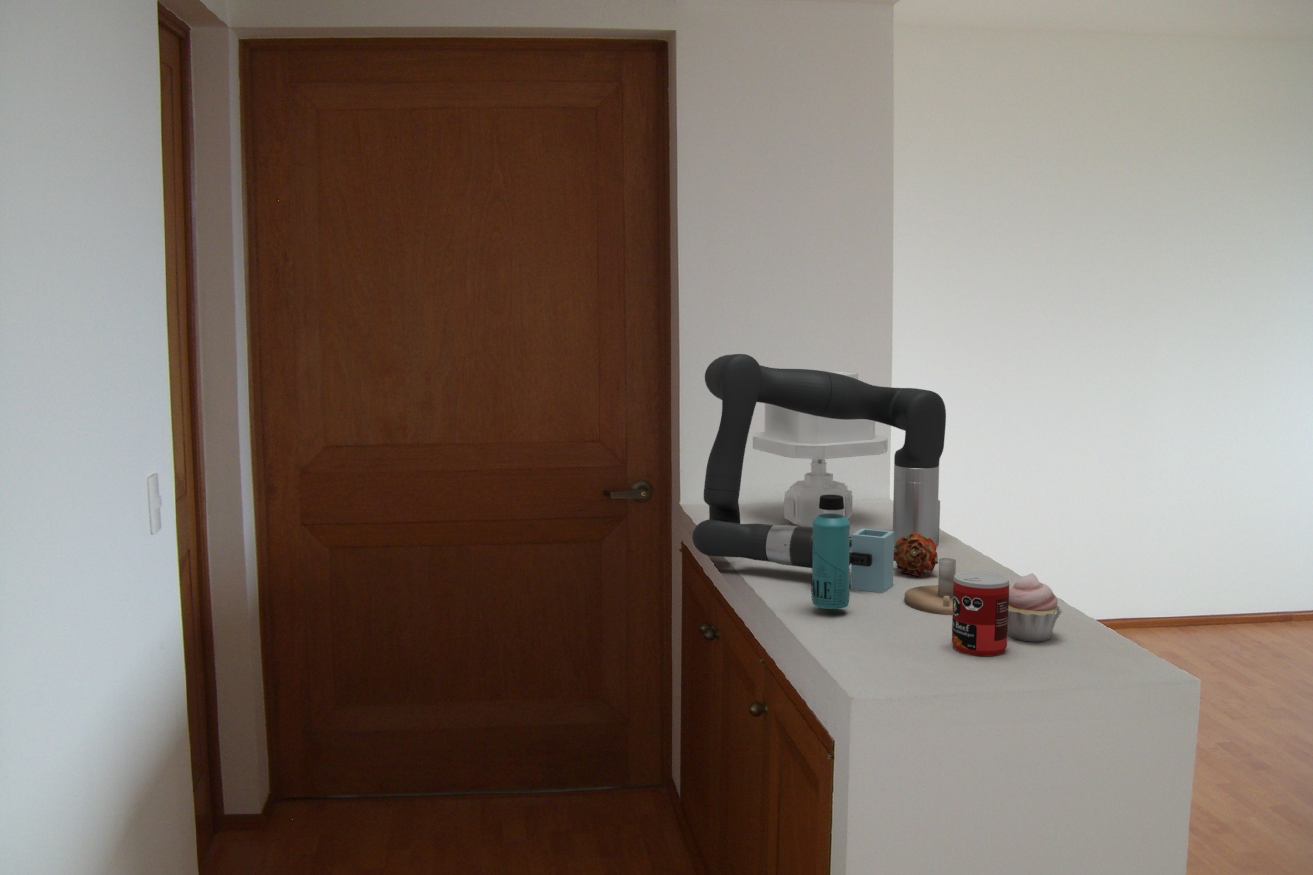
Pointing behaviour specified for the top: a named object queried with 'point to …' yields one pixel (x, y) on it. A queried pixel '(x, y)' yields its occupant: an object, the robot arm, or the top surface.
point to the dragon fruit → (915, 554)
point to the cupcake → (1032, 610)
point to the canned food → (980, 613)
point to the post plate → (935, 591)
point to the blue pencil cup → (873, 560)
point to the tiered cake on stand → (816, 454)
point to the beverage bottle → (830, 556)
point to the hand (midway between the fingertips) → (879, 555)
